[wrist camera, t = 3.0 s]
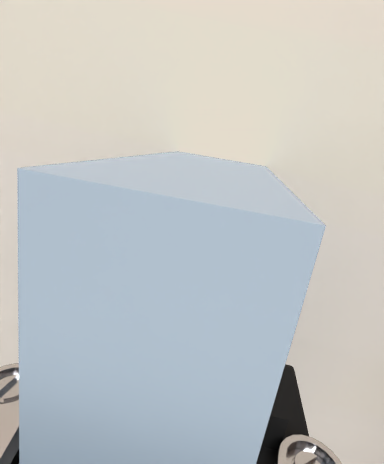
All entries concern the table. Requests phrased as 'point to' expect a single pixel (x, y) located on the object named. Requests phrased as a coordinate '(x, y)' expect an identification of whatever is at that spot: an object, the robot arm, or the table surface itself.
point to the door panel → (155, 307)
